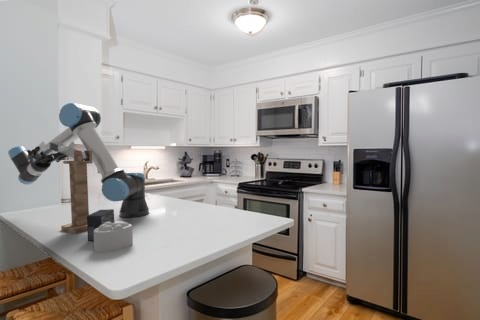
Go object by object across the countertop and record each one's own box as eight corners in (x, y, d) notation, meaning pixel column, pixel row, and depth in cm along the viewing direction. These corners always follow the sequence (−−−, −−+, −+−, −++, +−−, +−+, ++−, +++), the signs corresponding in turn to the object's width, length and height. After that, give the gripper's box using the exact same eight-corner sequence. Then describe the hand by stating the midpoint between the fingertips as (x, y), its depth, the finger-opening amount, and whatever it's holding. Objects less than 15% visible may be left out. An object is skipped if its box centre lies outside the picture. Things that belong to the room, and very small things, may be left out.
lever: (48, 148, 133) (49, 141, 132) (55, 148, 136) (56, 142, 135) (81, 161, 122) (82, 154, 121) (88, 160, 125) (89, 154, 124)
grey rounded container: (136, 243, 107) (135, 221, 106) (103, 254, 96) (102, 230, 96) (120, 238, 113) (120, 217, 112) (88, 248, 102) (87, 225, 102)
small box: (100, 232, 121) (100, 209, 120) (115, 232, 120) (114, 209, 120) (86, 241, 110) (85, 215, 109) (102, 241, 110) (101, 215, 109)
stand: (60, 230, 125) (56, 150, 123) (84, 223, 135) (80, 150, 133) (77, 233, 120) (73, 150, 118) (100, 226, 129) (97, 150, 127)
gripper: (66, 169, 151) (87, 150, 142) (12, 174, 128) (32, 151, 119) (62, 157, 152) (82, 137, 143) (7, 160, 130) (27, 136, 121)
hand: (59, 144), depth 131 cm, fingers open, 13 cm apart
